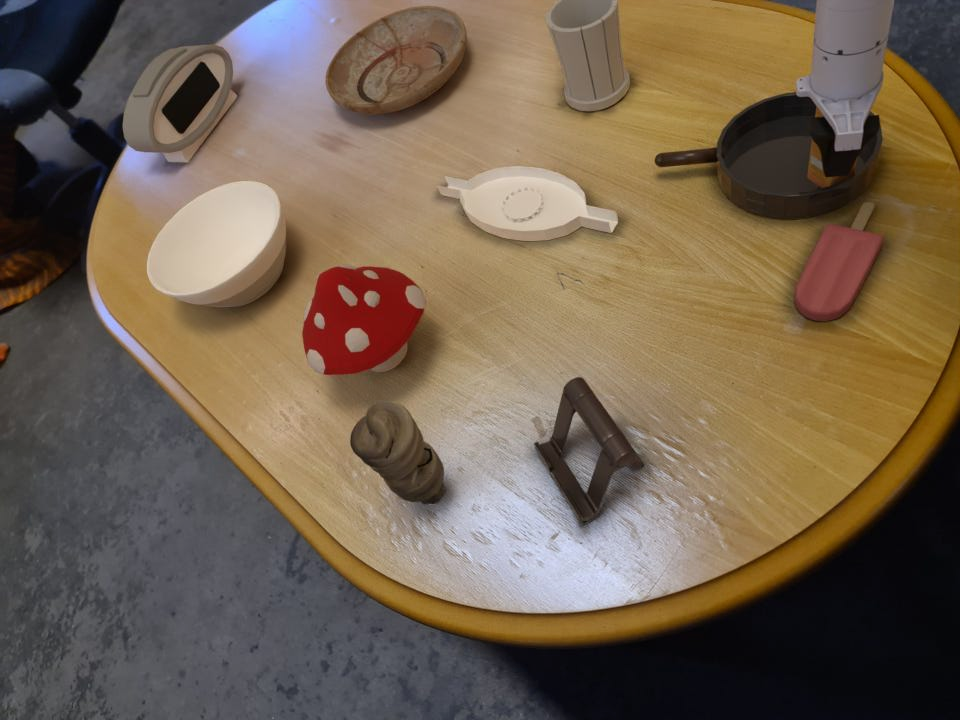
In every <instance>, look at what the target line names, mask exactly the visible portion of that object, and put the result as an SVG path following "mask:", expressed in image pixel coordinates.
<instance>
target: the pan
mask: <svg viewBox="0 0 960 720" xmlns="http://www.w3.org/2000/svg"><path fill="white" fill-rule="evenodd" d="M815 115H816V104H815V103H814V102H813V100H812V99H811V98H810V97H808V96H806V97H799V96H797V95H796V91H792V92H784V93H780V94H777V95H773V96H769V97H767V98H763V99H762V100H759V101H757V102H755V103H753V104H751V105H748V106H747V107H745V108H743V109H742V110H740V112H738V113H736V114H735V115H734V116H733V117H732V118H731V119H730V120H729V121H728V123H727V124H726V125H725V126H724V127H723V129H722V130H721V133H720V135H719V137H718V139H717V142H716V148H717V154H716V156H717V162H716V175H717V179H718V183H719V184H718V185H719V187H720V188H721V191H722V192H723V193H724V195H725V196H726V198H728V200H730V202H732V204H734V205H735V206H736V207H738V208H740V209H742V210H743V211H746V212H748V213H749V214H752V215H755V216H759V217H762V218H767V219H773V220H788V221H789V220H794V221H795V220H805V219H811V218H815V217H816V218H817V217H820V216H824V215H827V214H830V213H832V212H836V211H838V210H840V209H842V208H844V207H845V206H847V205H849V204H850V203H852V202H853V201H855V200H856V199H858V198H859V197H860V196H861V195H862V194H864V192H865V191H866V190H867V189H868V188H869V187H870V184H871V183H872V181H873V180H874V178H875V175H876V173H877V169H878V165H879V163H880V162H879V161H880V156H881V152H882V147H883V142H884V138H883V129H882V125H881V124H880V128H879V131H878V133H877V135H876V136H874V137H873V138H872V139H871V140H870V141H869V142H868V143H867V144H866V145H865V146H864V147H863V148H862V150H861V151H860V153H859V155H858V158H857V162H856V167H855V172H854V174H853V175H851V176H850V177H849V178H847V179H844V180H842V181H840V182H838V183H836V184H833V185H831V186H828V187H824V188H821V187H819V186H818V185H816V184H815V183H814V182H812V181H811V180H809V179H808V178H807V174H808V167H809V159H810V152H811V144H812V137H811V134H810V118H815ZM871 115H875V114H874V112H872V110H871V111H870V113H869V115H868V116H871ZM722 149H723V150H724V153H725V155H724V158H722Z"/></svg>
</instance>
